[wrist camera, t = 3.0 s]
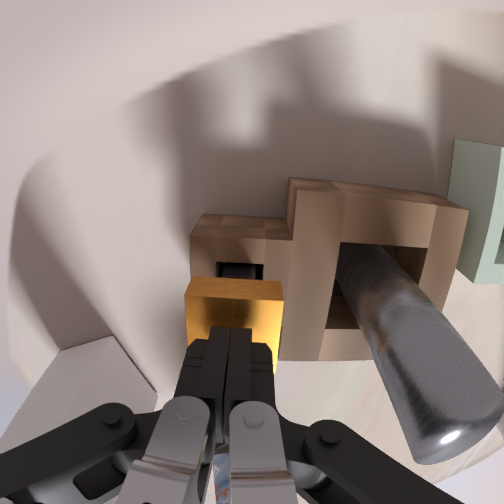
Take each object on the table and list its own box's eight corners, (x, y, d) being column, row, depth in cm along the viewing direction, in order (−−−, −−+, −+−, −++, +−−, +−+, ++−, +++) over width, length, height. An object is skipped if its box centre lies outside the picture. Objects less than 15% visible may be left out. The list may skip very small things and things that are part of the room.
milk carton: (159, 394, 25) (104, 593, 7) (103, 404, 26) (38, 564, 8) (114, 333, 23) (4, 548, 5) (59, 350, 24) (-42, 514, 6)
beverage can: (207, 413, 26) (189, 531, 15) (289, 409, 25) (299, 531, 14) (219, 448, 28) (208, 550, 17) (291, 445, 28) (298, 549, 16)
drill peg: (387, 236, 19) (523, 383, 6) (376, 286, 21) (474, 451, 8) (335, 232, 19) (443, 404, 6) (327, 284, 21) (396, 473, 8)
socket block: (435, 194, 18) (469, 210, 15) (404, 324, 22) (424, 356, 18) (203, 173, 18) (189, 184, 14) (204, 319, 22) (194, 355, 18)
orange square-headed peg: (275, 246, 17) (283, 301, 11) (270, 306, 18) (274, 373, 13) (206, 242, 17) (184, 295, 11) (207, 302, 18) (189, 367, 13)
